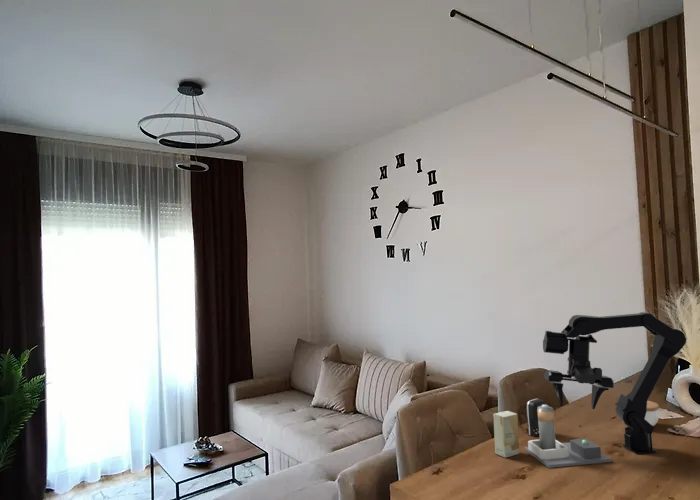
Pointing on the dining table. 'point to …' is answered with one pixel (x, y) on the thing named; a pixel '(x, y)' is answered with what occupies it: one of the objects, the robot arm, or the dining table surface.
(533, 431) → the battery charger
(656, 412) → the lidded jar
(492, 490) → the dining table surface
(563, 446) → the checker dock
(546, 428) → the big cell
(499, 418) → the skincare box
